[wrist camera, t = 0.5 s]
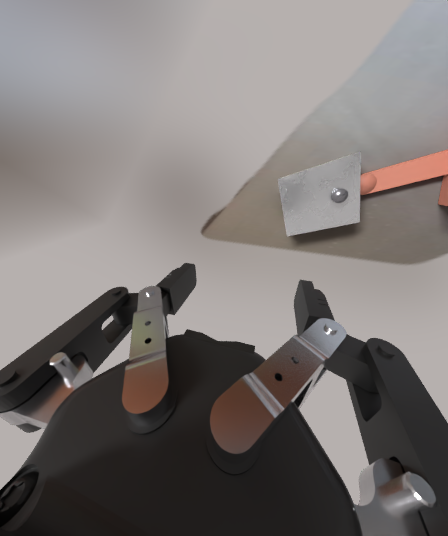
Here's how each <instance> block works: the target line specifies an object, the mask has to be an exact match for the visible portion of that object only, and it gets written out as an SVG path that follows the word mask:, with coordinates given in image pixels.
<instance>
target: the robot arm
mask: <svg viewBox="0 0 448 536" xmlns="http://www.w3.org/2000/svg"><path fill="white" fill-rule="evenodd" d="M195 286H196V270H195V265H194V264H189V263H184V264H183V265H182V266H181V267H180V268H177V269H175V270H173V271H172V272H171V273H170V274H169V275H167V276H166V277H165V278H164V279H163V280H162V281H161V282H160V283H159V284H157V285H156V286H149V287H146V288H144V289H142V290H141V291H140V292H139V293H128V289H127V288H125V287H116V288H113V289H111V290H109V291H107V292H106V293H104V294H103V295H102V296H100V297H99V298H98V299H96V300H95V301H94V302H92V303H91V304H90V305H88V306H87V307H85V308H84V309H83V310H81V311H80V312H79V313H77V314H76V315H75V316H73V317H72V318H71V319H69V320H68V321H67V322H65V323H64V324H63V325H61V326H60V327H58V328H57V329H56V330H54V331H53V332H52V333H50V334H49V335H48V336H46V337H45V338H44V339H42V340H41V341H40V342H38V343H37V344H35V345H34V346H33V347H31V348H30V349H29V350H27V351H26V352H25V353H23V354H22V355H21V356H19V357H18V358H16V359H15V360H14V361H12V362H11V363H10V364H8V365H7V366H6V367H4V368H3V369H2V370H0V417H1V418H3V419H4V420H5V421H7V422H8V423H10V424H12V425H16V426H17V427H19V428H20V429H22V430H23V431H25V432H29V433H30V432H34V431H37V430H39V429H41V428H43V429H45V431H44V432H43V434H42V436H41V438H40V440H39V442H38V443H37V445H36V446H35V448H34V450H33V451H32V453H31V454H30V456H29V457H28V458H27V460H26V461H25V463H24V464H23V465H22V467H21V468H20V469H19V471H18V472H17V473H16V474H15V476H14V477H13V478H12V479H11V480H10V481H9V482H8V483H7V484H6V485H5V486H4V487H3V488H2V489H1V490H0V536H448V423H447V421H446V420H445V418H444V417H443V415H442V414H441V412H440V410H439V409H438V407H437V406H436V404H435V403H434V401H433V399H432V398H431V396H430V395H429V393H428V392H427V390H426V388H425V387H424V385H423V384H422V382H421V380H420V379H419V377H418V376H417V374H416V373H415V371H414V369H413V368H412V367H411V365H410V363H409V362H408V360H407V358H406V357H405V355H404V354H403V353H402V352H401V351H400V350H399V349H398V348H397V347H395V346H394V345H392V344H390V343H389V342H387V341H384V340H382V339H378V338H370V339H369V340H368V341H367V342H363V341H361V340H358V339H356V338H353V337H351V336H349V335H347V334H346V331H345V329H344V328H343V327H342V326H341V325H340V324H339V323H337V322H335V320H334V318H333V315H332V313H331V310H330V308H329V306H328V302H327V300H326V297H325V295H324V294H323V293H322V292H321V291H320V290H317V289H314V286H313V283H312V282H311V281H304V280H300V281H299V284H298V288H297V291H296V295H295V299H294V309H295V317H296V325H297V333H298V335H294V336H293V337H292V338H291V339H290V340H289V341H287V342H286V343H285V344H284V345H283V346H282V347H280V348H279V349H278V350H277V351H276V352H275V353H274V354H272V355H271V356H270V357H269V358H268V359H267V360H265V359H264V358H263V357H262V356H260V355H259V354H257V353H255V352H254V350H255V346H253V345H249V344H245V343H241V342H231V341H230V342H229V341H216V340H214V339H212V338H210V337H209V336H207V335H205V334H203V333H200V332H196V331H192V330H188V329H187V330H186V332H185V333H184V334H183V335H175V336H172V337H169V330H168V322H167V317H166V316H167V315H168V314H172V315H175V314H176V312H177V311H178V310H179V308H180V307H181V306H182V304H183V303H184V301H185V300H186V299H187V297H188V296H189V294H190V293H191V292H192V290H193V289H194V288H195ZM111 315H112V316H113V318H114V320H113V321H112V322H111V323H110V324H108V325H107V326H106V327H105V328H104V329H103V330H102V329H101V327H102V324H103V323H104V321H105V320H107V319H108V318H109V317H110V316H111ZM131 329H132V335H131V344H130V354H129V359H127V360H126V361H124V362H122V363H120V364H118V365H116V366H115V367H113V368H111V369H109V370H107V371H106V372H104V373H102V374H100V375H98V376H96V377H95V378H92V376H93V373H94V372H95V371H96V370H97V368H98V367H99V366H100V365H101V364H102V363H103V361H104V360H105V359H106V358H107V357H108V356H109V354H110V353H111V352H112V351H113V350H114V349H115V348H116V346H117V345H118V344H119V343H120V342H121V341H122V340H123V338H124V337H125V336H126V335H127V334H128V333H129V331H130V330H131ZM327 370H329V371H331V372H333V373H335V374H337V375H338V376H340V377H343V378H344V379H346V381H347V385H348V389H349V392H350V396H351V400H352V403H353V407H354V411H355V414H356V418H357V421H358V425H359V429H360V433H361V436H362V440H363V443H364V447H365V451H366V454H367V458H368V461H369V466H368V467H366V468H365V469H363V471H361V473H360V476H359V488H360V500H359V504H358V505H355V504H354V503H353V501H352V498H351V496H350V494H349V492H348V490H347V488H346V486H345V484H344V482H343V480H342V479H341V477H340V475H339V474H338V472H337V470H336V469H335V467H334V466H333V464H332V462H331V461H330V459H329V457H328V456H327V454H326V453H325V451H324V449H323V448H322V446H321V445H320V443H319V441H318V440H317V438H316V436H315V435H314V433H313V432H312V430H311V428H310V427H309V425H308V424H307V422H306V420H305V419H304V417H303V415H302V414H301V412H300V411H299V409H300V407H301V406H302V405H303V403H304V402H305V400H306V399H307V397H308V396H309V394H310V393H311V391H312V390H313V388H314V387H315V386H316V385H317V383H318V382H319V381H320V379H321V378H322V376H323V375H324V374H325V373H326V371H327Z"/></svg>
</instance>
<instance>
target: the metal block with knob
mask: <svg viewBox="0 0 448 536" xmlns="http://www.w3.org/2000/svg"><path fill="white" fill-rule="evenodd" d="M360 175H361V152H358V153H354V154H351V155H347V156H344V157H341V158H338V159H335V160H332V161H329V162H326V163H323V164H320V165H317V166H314V167H311V168H308V169H305V170H302V171H299V172H296V173H293V174H290V175H287V176H284V177H281V178H279V179H278V184H279V190H280V196H281V202H282V209H283V215H284V221H285V227H286V234H287V236H292V235H297V234H302V233H307V232H312V231H317V230H323V229H328V228H333V227H338V226H343V225H348V224H353V223H358V222H360Z"/></svg>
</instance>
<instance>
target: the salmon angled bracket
mask: <svg viewBox="0 0 448 536" xmlns="http://www.w3.org/2000/svg"><path fill="white" fill-rule="evenodd" d="M442 175H444V176H443V181H442V186H441V191H440V196H439V202H438V204H440V205H444V206H448V150H444V151H441V152H437V153H434V154H430V155H427V156H423V157H420V158H417V159H413V160H410V161H406V162H403V163H399V164H396V165H392V166H389V167H385V168H382V169H378V170H375V171H371V172H368V173H364V174H361V175H360V195H365V194H369V193H373V192H377V191H381V190H385V189H389V188H393V187H397V186H401V185H405V184H409V183H413V182H417V181H422V180H426V179H430V178H434V177H438V176H442Z"/></svg>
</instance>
